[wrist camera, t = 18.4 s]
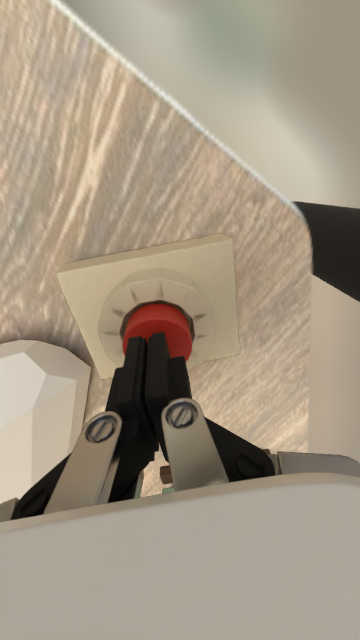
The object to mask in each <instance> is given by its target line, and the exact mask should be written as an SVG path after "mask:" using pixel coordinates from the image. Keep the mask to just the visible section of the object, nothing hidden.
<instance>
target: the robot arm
mask: <svg viewBox="0 0 360 640" xmlns="http://www.w3.org/2000/svg"><path fill="white" fill-rule="evenodd" d="M159 443H160V446H161V449H162V452H163V455H164V458H165V460H166V461H167V462H168V463H169V465H170V470H171V475H172V481H173V486H174V491H175V492H171V493H165V494H159V495H153V496H147V497H141V498H140V494H141V489H142V484H143V479H144V471H143V469H144V468H145V467H146V466H147V465H148V464H149V462H150V461H154V455H155V452H156V451H159ZM0 640H360V463H359V462H357V461H355V460H353V459H351V458H349V457H346V456H342V455H330V454H314V453H297V452H279V451H277V454H267V453H265V452H264V451H263V450H261V449H260V448H258V447H256V446H255V445H253V444H251V443H249V442H248V441H246V440H244V439H242V438H241V437H239V436H237V435H235V434H234V433H232V432H230V431H228V430H227V429H225V428H223V427H221V426H219V425H218V424H216V423H214V422H212V421H211V420H209V419H207V418H205V417H204V415H203V412H202V410H201V407H200V406H199V404H198V403H197V402H196V401H194V400H192V395H191V388H190V382H189V376H188V371H187V366H186V361H185V357H184V356H178V357H173V358H171V357H170V353H169V349H168V345H167V340H166V336H165V333H164V332H158V333H153V334H152V337H149V339H148V343H147V340H146V338H142V337H141V336H137V337H131V338H129V339H128V344H127V349H126V354H125V359H124V364H123V367H119V368H116V369H115V372H114V376H113V380H112V384H111V389H110V393H109V397H108V401H107V405H106V409H105V412H102V413H100V414H97V415H95V416H94V417H93V418H91V419H90V420H89V421H88V422H87V423H86V424H85V426H84V428H83V429H82V431H81V433H80V436H79V438H78V440H77V442H76V444H75V446H74V448H73V450H72V452H71V453H70V454H69V455H68V456H67V457H66V458H64V459H63V460H62V461H61V462H60V463H59V464H58V465H56V466H55V467H54V468H53V469H52V470H51V471H50V472H48V473H47V474H46V475H45V476H44V477H43V478H42V479H40V480H39V481H38V482H37V483H36V484H35V485H34V486H32V487H31V488H30V489H29V490H28V491H27V492H26V493H25V494H24V495H23V496H22V498H21V499H18V498H17V497H15V498H13V499H10V500H8V501H6V502H3V503H1V504H0Z"/></svg>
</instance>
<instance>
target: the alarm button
mask: <svg viewBox="0 0 360 640" xmlns="http://www.w3.org/2000/svg"><path fill="white" fill-rule="evenodd" d="M158 332H164V333H165V336H166V340H167V345H168V349H169V353H170V357H171V358H173V357H178V356H184V357H185V361H186V362H187V361H188V359H189V357H190V355H191V352H192V339H191V334H190V329H189V324H188V321H187V319H186V318H185V316H184V315H183V314H182V313H181V312H180V311H179V310H178V309H176V308H174V307H172V306H170V305H166V304H160V303H155V304H149V305H146V306H143V307H141V308H139V309H138V310H137V311H135V312H134V313H133V314H132V315H131V317H130V318H129V320H128V323H127V326H126V330H125V334H124V339H123V344H122V348H123V353H124V356H125V354H126V349H127V344H128V339H129V338H131V337H137V336H141V337H142V338H146V340H147V343H148V339H149V337H152V334H153V333H158Z"/></svg>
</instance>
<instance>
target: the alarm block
mask: <svg viewBox="0 0 360 640" xmlns="http://www.w3.org/2000/svg"><path fill="white" fill-rule="evenodd" d="M55 275H56V277H57V280H58V282H59V284H60V286H61V289H62V291H63V293H64V296H65V298H66V300H67V302H68V305H69V307H70V309H71V311H72V314H73V316H74V318H75V321H76V323H77V325H78V327H79V330H80V332H81V334H82V336H83V339H84V341H85V343H86V345H87V348H88V350H89V352H90V355H91V357H92V359H93V361H94V364H95V366H96V368H97V370H98V373H99V375H100V377H101V379H102V380H104V379H109V378H113V376H114V372H115V369H116V368H119V367H123V364H124V359H125V356H124V353H123V348H122V344H123V339H124V334H125V330H126V326H127V323H128V320H129V318H130V317H131V315H132V314H133V313H134V312H135V311H137V310H138V309H139V308H141V307H143V306H146V305H149V304H155V303H160V304H166V305H170V306H172V307H174V308H176V309H178V310H179V311H180V312H181V313H182V314H183V315H184V316H185V318H186V319H187V321H188V324H189V329H190V334H191V339H192V352H191V355H190V357H189V359H188V361H187V362H186V366H187V371H189V370H190V369H192V368H193V367H195V366H196V365H197V364H199V363H200V362H204V361H210V360H215V359H221V358H226V357H232V356H238V355H240V346H239V330H238V314H237V298H236V282H235V266H234V250H233V240H232V239H231V238H230V237H228V236H227V235H226V234H224V233H221V234H216V235H210V236H205V237H200V238H195V239H189V240H184V241H179V242H174V243H169V244H163V245H158V246H153V247H148V248H142V249H137V250H132V251H127V252H122V253H116V254H111V255H106V256H101V257H95V258H90V259H85V260H80V261H75V262H69V263H67V264H66V265H65V266H64V267H62V268H61V269H60V270H59V271H58V272H56V273H55Z"/></svg>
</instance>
